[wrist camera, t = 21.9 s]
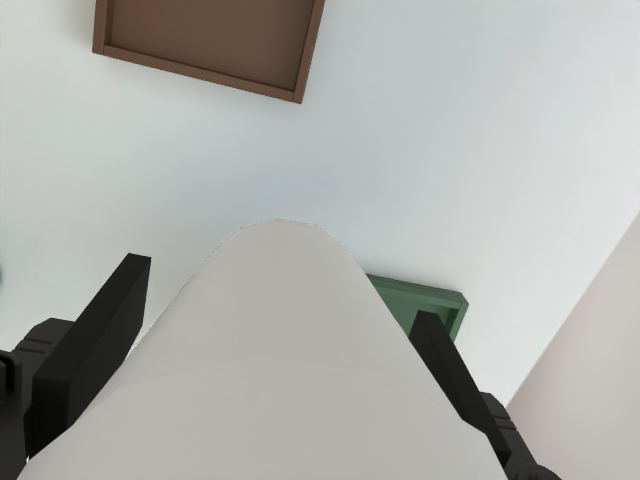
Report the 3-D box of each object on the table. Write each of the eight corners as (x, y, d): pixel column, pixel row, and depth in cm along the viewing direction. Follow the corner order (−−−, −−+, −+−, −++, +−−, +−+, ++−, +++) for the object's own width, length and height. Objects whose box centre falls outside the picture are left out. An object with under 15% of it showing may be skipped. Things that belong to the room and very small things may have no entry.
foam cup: (112, 319, 19) (-202, 799, 7) (247, 123, 17) (128, 342, 4) (309, 428, 21) (331, 921, 9) (452, 273, 19) (730, 671, 7)
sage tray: (461, 293, 37) (469, 304, 36) (412, 419, 41) (417, 434, 40) (304, 261, 35) (305, 271, 34) (269, 396, 40) (269, 411, 38)
